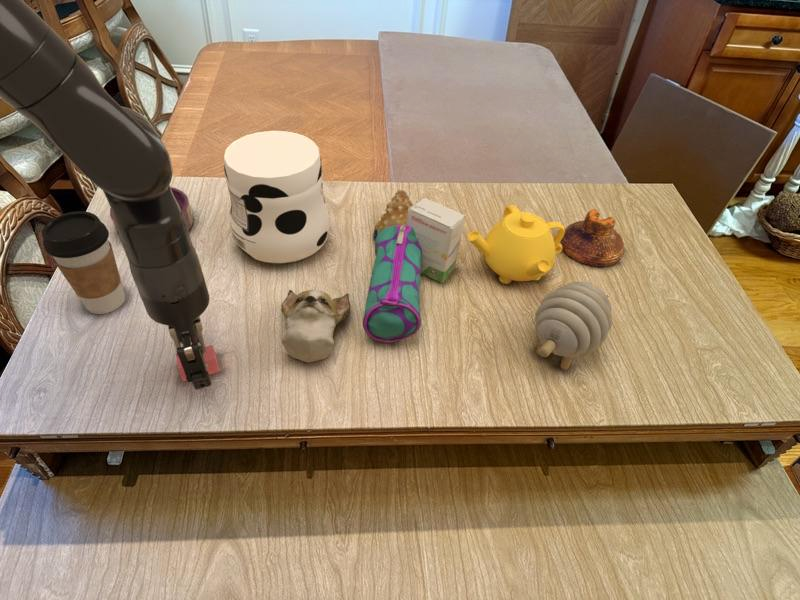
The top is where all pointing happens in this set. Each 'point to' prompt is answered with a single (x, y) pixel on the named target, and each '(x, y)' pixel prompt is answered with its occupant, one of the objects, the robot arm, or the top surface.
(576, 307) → the toy sheep
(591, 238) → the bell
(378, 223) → the seashell
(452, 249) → the ink box
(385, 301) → the pencil case
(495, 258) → the teapot
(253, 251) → the milk container
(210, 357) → the eraser
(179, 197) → the bowl
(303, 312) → the ceramic sculpture
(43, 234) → the coffee cup
